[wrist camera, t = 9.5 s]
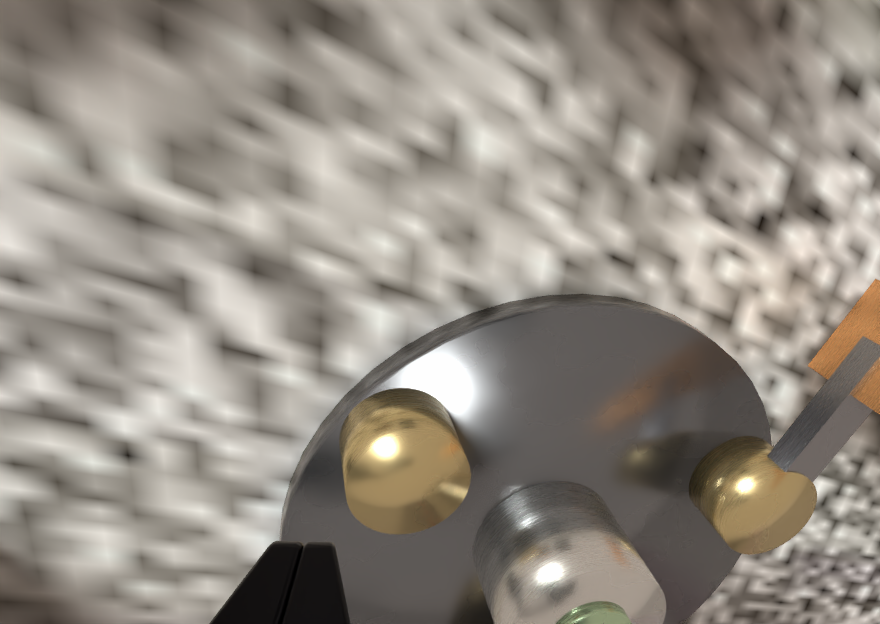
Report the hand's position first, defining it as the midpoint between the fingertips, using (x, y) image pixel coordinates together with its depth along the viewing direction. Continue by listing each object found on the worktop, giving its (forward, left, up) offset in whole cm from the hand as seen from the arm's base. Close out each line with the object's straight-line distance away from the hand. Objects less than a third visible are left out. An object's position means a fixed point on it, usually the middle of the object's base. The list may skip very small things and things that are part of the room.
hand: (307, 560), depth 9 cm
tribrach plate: (+1, -16, -13) cm, 20 cm away
